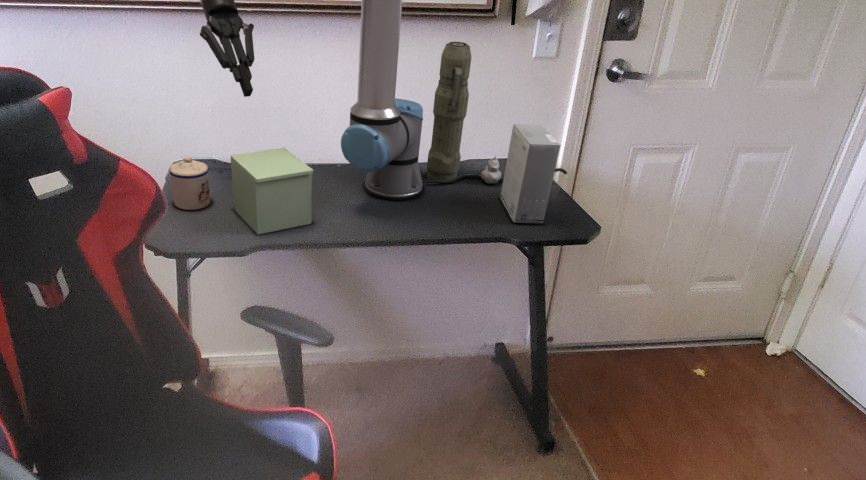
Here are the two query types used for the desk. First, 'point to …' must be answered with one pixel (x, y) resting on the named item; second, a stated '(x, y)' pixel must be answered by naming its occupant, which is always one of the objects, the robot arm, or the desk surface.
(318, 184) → the desk surface
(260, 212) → the bin
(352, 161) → the robot arm
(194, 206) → the teacup with lid
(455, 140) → the thermos
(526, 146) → the hard drive box
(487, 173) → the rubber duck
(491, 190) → the desk surface
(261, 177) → the bin lid
